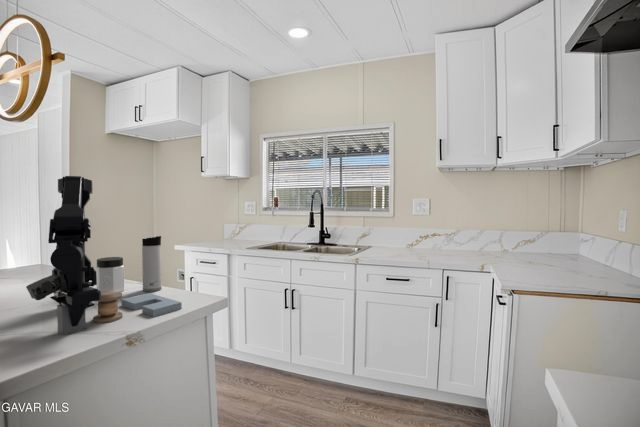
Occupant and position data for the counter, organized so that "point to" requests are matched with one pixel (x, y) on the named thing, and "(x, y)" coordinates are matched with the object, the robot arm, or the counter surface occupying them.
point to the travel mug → (151, 264)
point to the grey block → (68, 321)
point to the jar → (110, 274)
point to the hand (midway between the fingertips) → (71, 324)
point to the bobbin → (108, 308)
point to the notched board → (151, 304)
